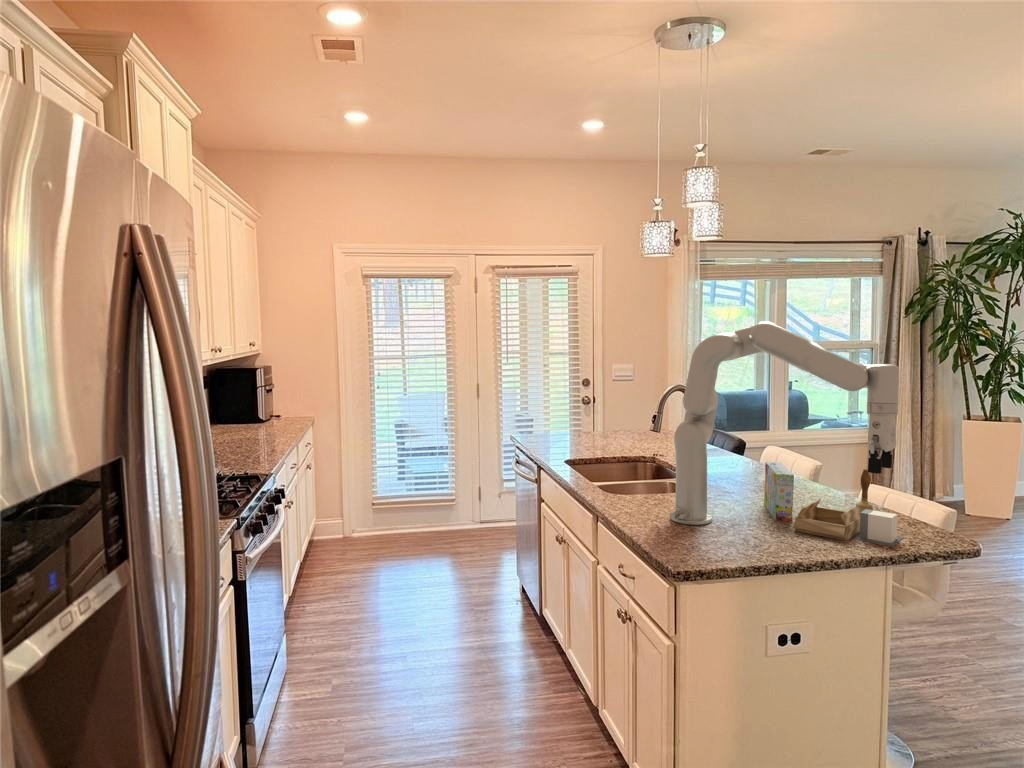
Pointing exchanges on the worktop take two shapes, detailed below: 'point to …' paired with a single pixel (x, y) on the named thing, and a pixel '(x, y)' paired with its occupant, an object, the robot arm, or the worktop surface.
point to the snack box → (778, 491)
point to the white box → (878, 526)
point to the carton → (828, 521)
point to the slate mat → (879, 541)
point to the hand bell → (865, 491)
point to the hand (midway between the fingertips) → (879, 470)
